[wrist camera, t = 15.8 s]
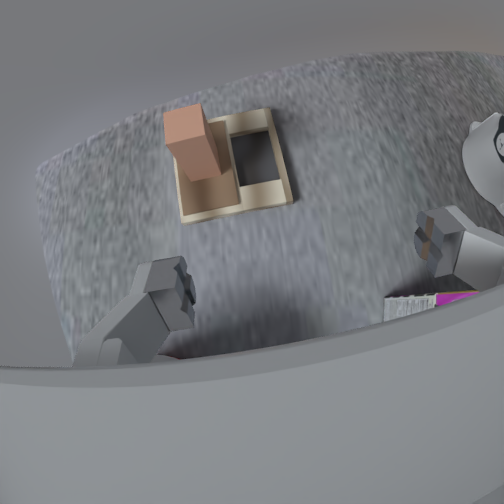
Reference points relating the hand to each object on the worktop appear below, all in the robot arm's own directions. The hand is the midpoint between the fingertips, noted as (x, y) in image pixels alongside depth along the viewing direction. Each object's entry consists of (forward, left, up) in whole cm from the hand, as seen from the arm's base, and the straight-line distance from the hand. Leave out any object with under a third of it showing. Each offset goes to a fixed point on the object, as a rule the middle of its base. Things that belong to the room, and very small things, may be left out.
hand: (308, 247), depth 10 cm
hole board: (+4, -19, -34) cm, 39 cm away
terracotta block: (+7, -19, -32) cm, 38 cm away
